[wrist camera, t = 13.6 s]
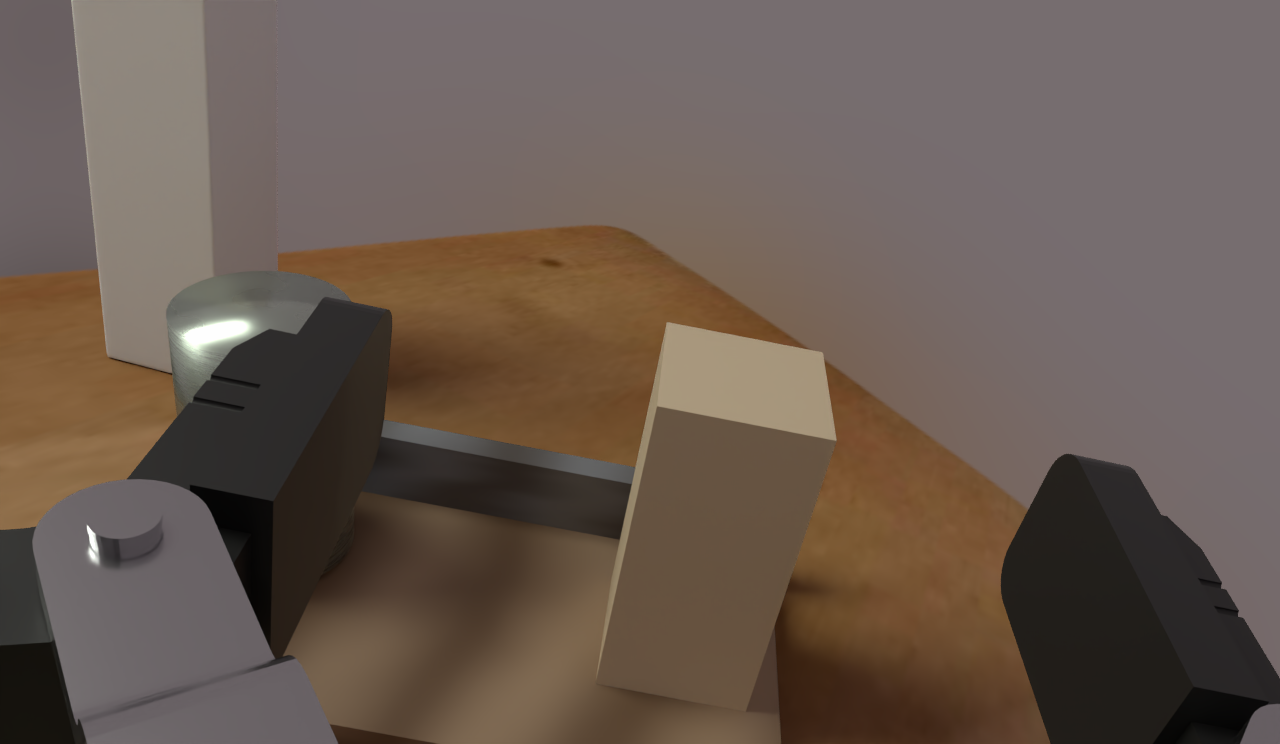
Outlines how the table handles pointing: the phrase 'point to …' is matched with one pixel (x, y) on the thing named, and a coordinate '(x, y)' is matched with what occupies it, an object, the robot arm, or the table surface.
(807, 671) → the table surface
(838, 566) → the table surface
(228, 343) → the oat tin
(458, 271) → the table surface
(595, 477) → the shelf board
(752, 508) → the kraft carton
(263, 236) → the milk
